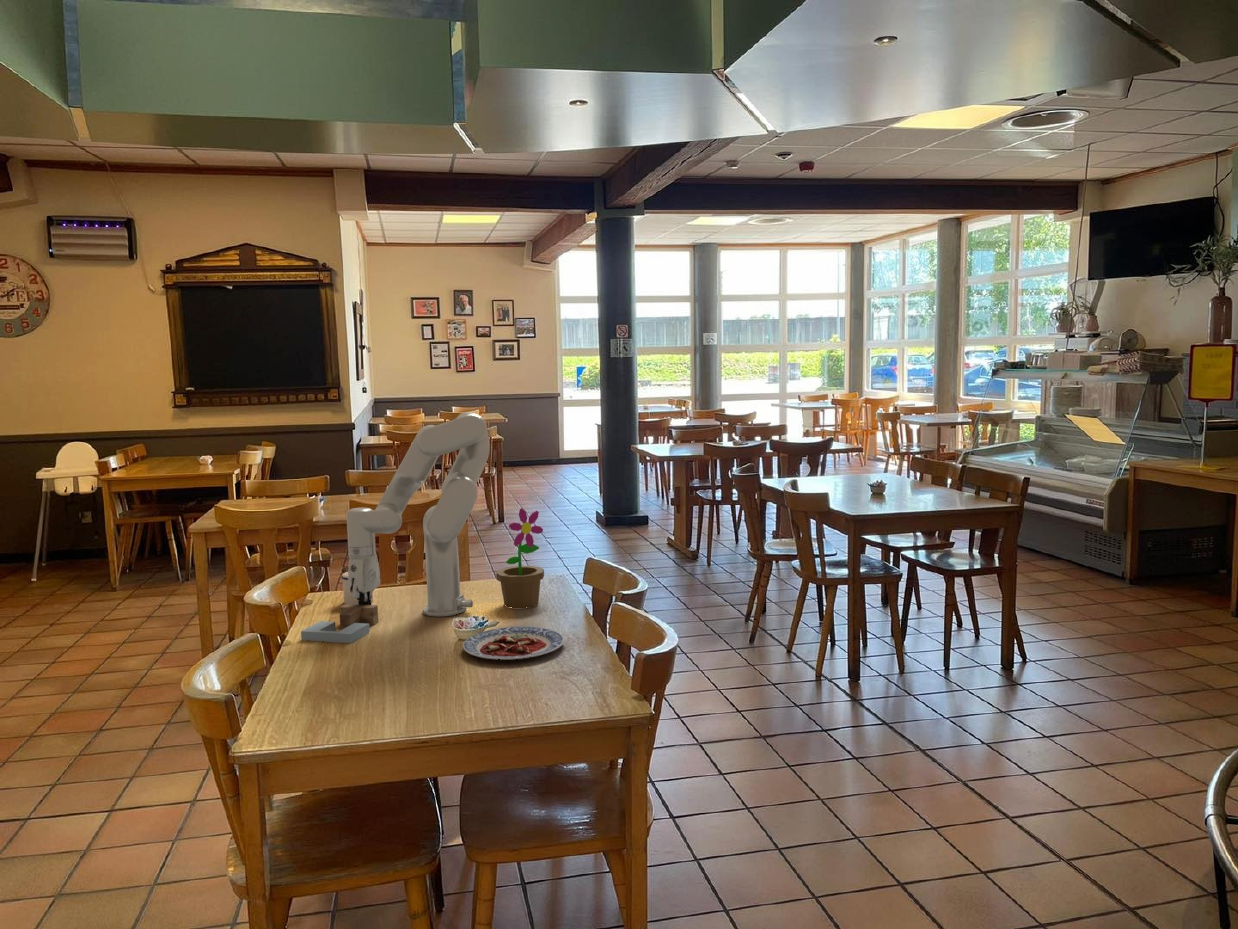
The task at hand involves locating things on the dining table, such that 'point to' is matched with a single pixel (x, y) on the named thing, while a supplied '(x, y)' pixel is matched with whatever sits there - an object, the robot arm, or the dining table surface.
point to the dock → (334, 632)
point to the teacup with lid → (347, 594)
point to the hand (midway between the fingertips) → (365, 613)
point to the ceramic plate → (513, 643)
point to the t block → (358, 615)
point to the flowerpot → (522, 568)
